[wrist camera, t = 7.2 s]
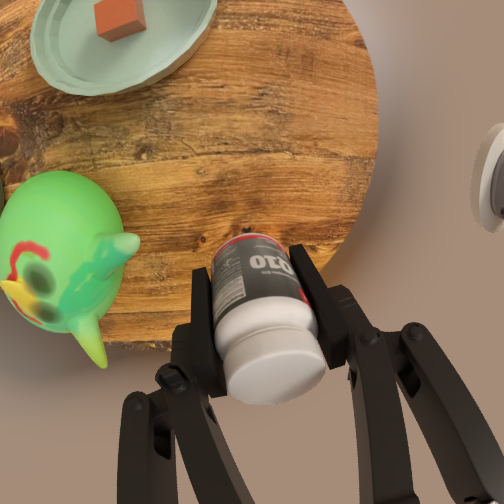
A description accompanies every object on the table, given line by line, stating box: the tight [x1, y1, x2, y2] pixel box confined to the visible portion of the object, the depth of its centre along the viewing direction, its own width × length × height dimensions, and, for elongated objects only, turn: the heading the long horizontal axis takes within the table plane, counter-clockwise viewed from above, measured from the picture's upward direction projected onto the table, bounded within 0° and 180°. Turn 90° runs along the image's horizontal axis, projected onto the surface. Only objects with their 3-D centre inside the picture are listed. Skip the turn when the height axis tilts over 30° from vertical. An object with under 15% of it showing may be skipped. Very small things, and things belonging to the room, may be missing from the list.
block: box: [94, 0, 147, 42], centre depth 16 cm, size 4×4×4 cm
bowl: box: [30, 0, 218, 96], centre depth 16 cm, size 19×19×5 cm
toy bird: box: [0, 171, 140, 368], centre depth 23 cm, size 18×17×15 cm
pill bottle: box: [211, 233, 326, 405], centre depth 13 cm, size 5×5×8 cm
